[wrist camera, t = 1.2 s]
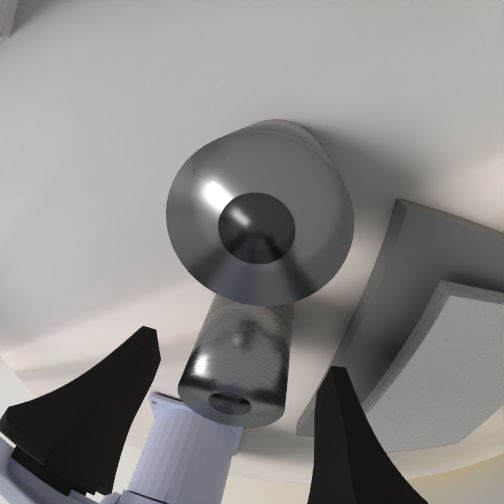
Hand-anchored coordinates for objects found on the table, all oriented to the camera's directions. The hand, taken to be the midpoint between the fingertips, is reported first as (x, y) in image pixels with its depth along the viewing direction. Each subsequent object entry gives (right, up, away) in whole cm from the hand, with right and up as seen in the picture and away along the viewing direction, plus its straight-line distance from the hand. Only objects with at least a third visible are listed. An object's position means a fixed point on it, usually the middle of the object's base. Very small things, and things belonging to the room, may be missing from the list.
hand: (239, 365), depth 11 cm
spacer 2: (+1, +2, +3) cm, 4 cm away
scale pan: (+13, -3, +2) cm, 13 cm away
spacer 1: (+1, +8, 0) cm, 8 cm away
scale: (+13, -2, +3) cm, 14 cm away
